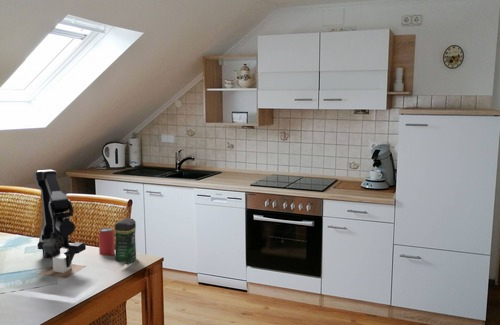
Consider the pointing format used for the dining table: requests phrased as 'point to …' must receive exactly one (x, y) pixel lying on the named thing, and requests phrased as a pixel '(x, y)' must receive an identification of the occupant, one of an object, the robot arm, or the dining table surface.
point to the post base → (63, 275)
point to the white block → (60, 263)
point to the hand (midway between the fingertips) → (62, 266)
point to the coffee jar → (125, 241)
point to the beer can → (106, 242)
